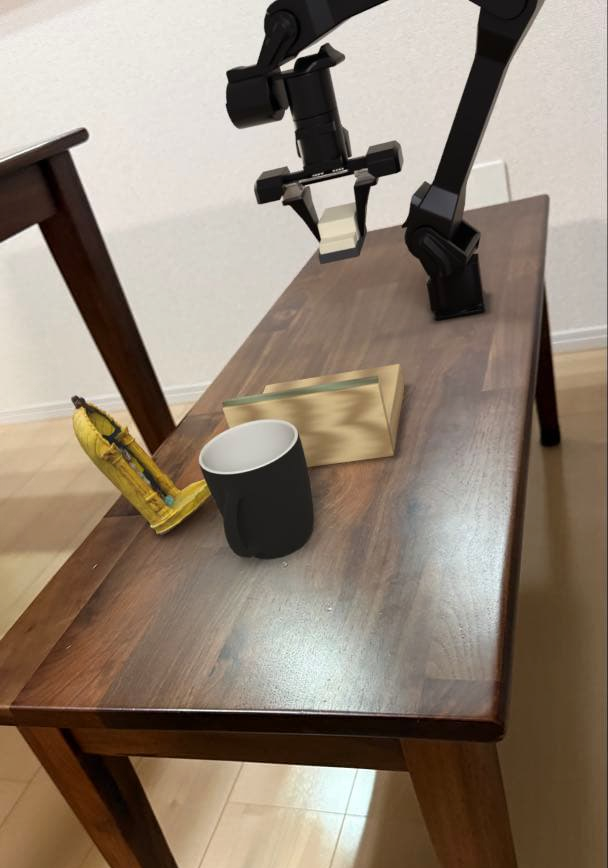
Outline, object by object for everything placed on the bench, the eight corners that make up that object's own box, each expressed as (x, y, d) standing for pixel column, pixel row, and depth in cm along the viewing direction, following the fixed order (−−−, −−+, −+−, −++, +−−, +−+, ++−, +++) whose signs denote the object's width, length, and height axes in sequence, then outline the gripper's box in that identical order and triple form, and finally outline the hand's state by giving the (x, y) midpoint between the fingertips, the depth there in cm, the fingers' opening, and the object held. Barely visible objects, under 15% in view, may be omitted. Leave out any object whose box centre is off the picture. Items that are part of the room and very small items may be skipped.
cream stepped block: (367, 231, 116) (360, 200, 113) (359, 256, 107) (352, 223, 105) (330, 239, 117) (323, 208, 115) (320, 264, 109) (312, 232, 106)
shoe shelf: (404, 387, 97) (390, 316, 92) (393, 456, 85) (376, 379, 80) (272, 407, 101) (252, 341, 96) (245, 475, 89) (220, 403, 84)
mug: (252, 511, 83) (221, 421, 77) (337, 509, 79) (311, 415, 74) (204, 591, 74) (165, 496, 68) (298, 592, 71) (265, 492, 65)
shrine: (106, 552, 84) (43, 420, 75) (138, 505, 90) (83, 378, 81) (210, 546, 80) (155, 406, 71) (236, 497, 86) (188, 363, 78)
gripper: (394, 82, 107) (415, 207, 115) (256, 118, 112) (286, 235, 120) (388, 98, 98) (411, 232, 107) (238, 137, 103) (272, 261, 112)
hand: (343, 239), depth 112 cm, fingers closed on cream stepped block, 5 cm apart
